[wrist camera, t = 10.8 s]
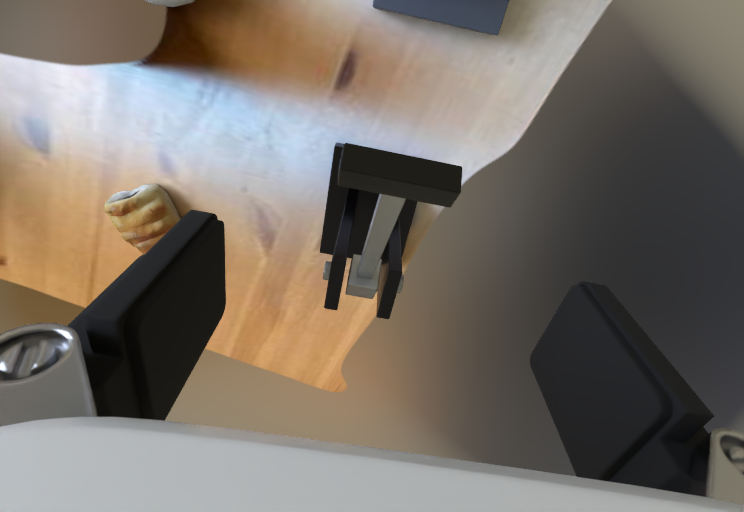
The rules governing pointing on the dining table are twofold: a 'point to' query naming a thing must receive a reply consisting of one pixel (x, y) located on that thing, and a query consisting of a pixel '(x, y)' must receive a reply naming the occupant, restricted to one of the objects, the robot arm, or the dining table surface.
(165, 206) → the pastry
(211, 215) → the robot arm
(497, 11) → the button housing
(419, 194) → the lever
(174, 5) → the donut
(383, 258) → the lever bracket
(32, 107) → the dining table surface
